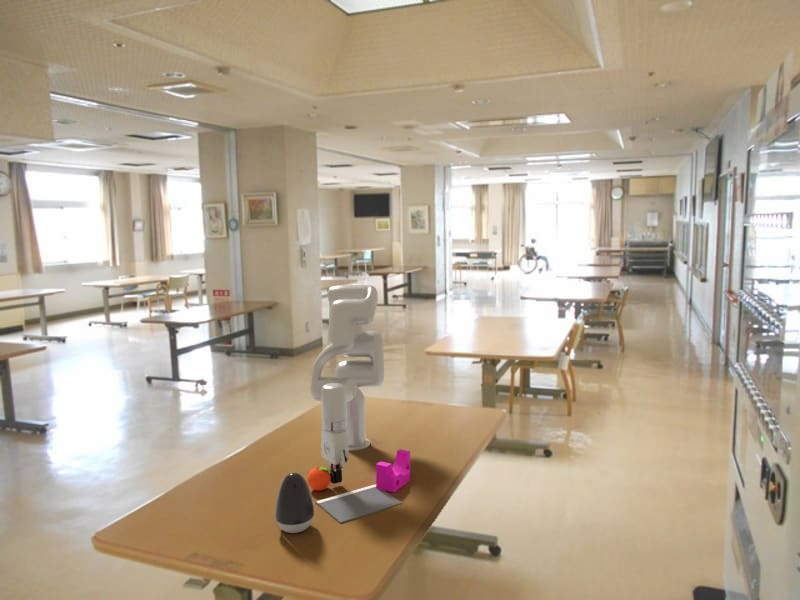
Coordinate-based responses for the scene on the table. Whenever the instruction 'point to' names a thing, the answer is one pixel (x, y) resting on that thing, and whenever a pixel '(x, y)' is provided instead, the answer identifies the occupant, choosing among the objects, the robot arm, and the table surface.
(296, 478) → the dark grey rounded cone
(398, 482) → the toy block
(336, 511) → the mat
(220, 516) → the table surface
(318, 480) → the clementine
